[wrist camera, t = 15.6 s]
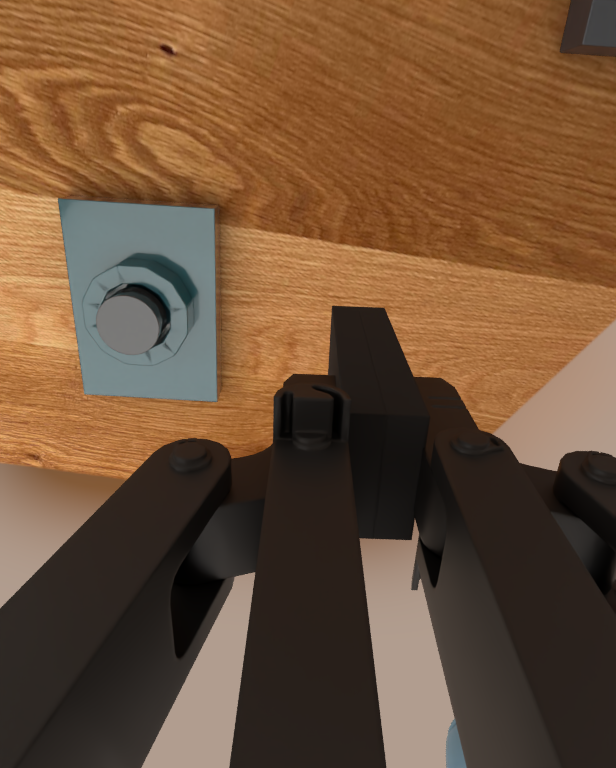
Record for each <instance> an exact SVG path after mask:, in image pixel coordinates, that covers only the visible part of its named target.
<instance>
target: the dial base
mask: <svg viewBox="0 0 616 768" xmlns="http://www.w3.org/2000/svg"><path fill="white" fill-rule="evenodd" d="M560 52H561V53H571V54H585V55H599V56H613V57H616V0H571V4H570V8H569V13H568V17H567V22H566V26H565V30H564V35H563V39H562V44H561V48H560Z"/></svg>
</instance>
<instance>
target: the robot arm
mask: <svg viewBox="0 0 616 768" xmlns="http://www.w3.org/2000/svg"><path fill="white" fill-rule="evenodd" d="M414 520H416V523H417V527H418V531H419V539H418V545H417V552H416V558H415V564H414V570H413V576H412V589H411V590H417V589H418V583H419V580H420V579H421V580H422V584H423V588H424V592H425V597H426V601H427V605H428V609H429V613H430V618H431V621H432V626H433V629H434V634H435V638H436V642H437V647H438V651H439V655H440V659H441V663H442V667H443V671H444V676H445V680H446V684H447V687H448V692H449V696H450V700H451V705H452V709H453V713H454V717H455V719H454V720H453V722H452V723H451V726H450V727H449V731H448V736H447V741H446V767H447V768H616V458H615V457H613V456H612V455H609V454H606V453H602V452H601V453H599V452H596V451H575V452H572V453H567V454H565V455H564V456H563V458H562V459H561V460H560V463H559V467H558V471H552V470H547V469H542V468H538V467H533V466H529V465H525V464H522V463H519V462H518V460H517V459H516V457H515V455H514V454H513V452H512V451H511V449H510V447H509V446H508V445H507V444H506V443H505V442H504V441H502V440H501V439H500V438H498V437H496V436H494V435H492V434H490V433H487V432H484V431H481V430H479V429H478V427H477V425H476V424H475V422H474V420H473V418H472V417H471V415H470V413H469V411H468V410H467V409H466V406H465V404H464V403H463V401H462V400H461V397H460V396H459V394H458V392H457V390H456V389H455V387H453V386H452V385H450V384H449V383H448V382H446V381H445V380H443V379H442V378H430V377H413V375H412V372H411V370H410V367H409V365H408V363H407V360H406V358H405V356H404V353H403V351H402V349H401V346H400V344H399V341H398V339H397V337H396V334H395V332H394V330H393V327H392V325H391V323H390V320H389V318H388V315H387V313H386V311H385V308H373V307H348V306H332V317H331V334H330V352H329V369H328V375H311V374H293V375H292V376H291V377H289V378H288V379H287V380H286V381H285V382H284V384H283V388H281V389H280V390H278V391H277V392H276V394H275V396H274V421H273V444H272V445H271V446H270V447H268V448H267V449H265V450H264V451H262V452H259V453H256V454H254V455H250V456H245V457H240V458H234V459H231V456H230V453H229V451H228V449H227V448H226V447H224V446H223V445H221V444H220V443H218V442H214V441H211V440H208V439H197V438H189V439H182V440H178V441H175V442H172V443H170V444H167V445H164V446H163V447H161V448H160V449H158V450H157V451H155V452H154V453H153V454H152V455H151V456H150V457H149V458H148V459H147V460H146V461H145V462H144V463H143V464H142V465H141V466H140V467H139V468H138V469H137V470H136V471H135V472H134V473H133V474H132V475H131V476H130V477H129V478H128V479H127V480H126V481H125V483H123V484H122V485H121V487H120V488H119V489H118V490H117V491H116V492H115V493H114V494H113V495H112V496H111V497H110V498H109V499H108V500H107V501H106V502H105V503H104V504H103V505H102V506H101V507H100V508H99V509H98V510H97V511H96V512H95V513H94V514H93V515H92V516H91V517H90V518H89V519H88V520H87V521H86V522H85V523H84V524H83V525H82V526H81V527H80V528H79V529H78V530H77V531H76V532H75V533H74V534H73V535H72V536H71V537H70V538H69V539H68V540H67V542H65V543H64V544H63V545H62V546H61V547H60V548H59V549H58V550H57V551H56V552H55V554H54V555H53V556H52V557H51V558H50V559H49V560H48V561H47V562H46V563H45V564H44V565H43V566H42V567H41V568H40V569H39V570H38V571H37V572H36V573H35V574H34V575H33V576H32V577H31V578H30V579H29V580H28V581H27V582H26V583H25V584H24V585H23V586H22V587H21V588H20V589H19V590H18V591H17V592H16V593H15V594H14V595H13V596H12V597H11V598H10V599H9V600H8V601H7V602H6V603H5V604H4V605H3V606H2V607H1V608H0V768H141V767H142V765H143V763H144V761H145V759H146V757H147V755H148V753H149V751H150V749H151V747H152V745H153V743H154V741H155V739H156V737H157V735H158V733H159V731H160V729H161V727H162V725H163V723H164V721H165V719H166V717H167V716H168V713H169V712H170V709H171V708H172V706H173V704H174V702H175V700H176V698H177V696H178V694H179V692H180V690H181V688H182V686H183V684H184V682H185V680H186V678H187V676H188V674H189V672H190V670H191V668H192V666H193V664H194V662H195V660H196V658H197V656H198V654H199V652H200V650H201V648H202V646H203V644H204V642H205V640H206V638H207V636H208V634H209V632H210V630H211V628H212V626H213V624H214V622H215V620H216V618H217V616H218V614H219V612H220V610H221V608H222V606H223V605H224V603H225V601H226V598H227V596H228V595H229V593H230V590H231V589H232V586H233V581H234V577H235V576H239V575H244V574H248V573H253V572H255V580H254V588H253V595H252V603H251V611H250V617H249V625H248V632H247V640H246V648H245V655H244V662H243V670H242V677H241V685H240V692H239V700H238V707H237V715H236V723H235V730H234V738H233V745H232V752H231V760H230V767H229V768H386V760H385V752H384V743H383V735H382V726H381V719H380V710H379V701H378V693H377V685H376V676H375V667H374V659H373V650H372V642H371V633H370V624H369V616H368V607H367V599H366V591H365V582H364V574H363V565H362V557H361V548H360V539H359V538H368V539H396V540H412V533H413V527H414Z"/></svg>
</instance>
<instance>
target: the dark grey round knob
mask: <svg viewBox="0 0 616 768" xmlns="http://www.w3.org/2000/svg"><path fill="white" fill-rule="evenodd" d="M166 325H167V314H166V310H165V308H164V306H163V304H162V302H161V301H160V300H159V299H158V298H157V297H156V296H155V295H154V294H153V293H151V292H150V291H148V290H146V289H143V288H139V287H127V288H123V289H121V290H119V291H117V292H116V293H115V294H113V295H112V296H111V297H110V298H108V299H107V300H106V301H105V302H103V303H102V305H101V306H100V308H99V309H98V312H97V315H96V326H97V330H98V333H99V335H100V337H101V338H102V340H103V341H104V342H105V343H106V344H107V345H108V346H109V347H110V348H112V349H113V350H115V351H117V352H119V353H122V354H126V355H138V354H142V353H145V352H147V351H148V350H150V349H151V348H152V347H153V346H154V345H155V343H156V342H157V341H158V339H159V338H160V337H161V336H162V334H163V333H164V331H165V329H166Z"/></svg>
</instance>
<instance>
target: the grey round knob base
mask: <svg viewBox="0 0 616 768" xmlns="http://www.w3.org/2000/svg"><path fill="white" fill-rule="evenodd" d="M58 203H59V210H60V218H61V225H62V233H63V240H64V247H65V255H66V262H67V269H68V277H69V284H70V292H71V299H72V306H73V314H74V321H75V329H76V336H77V343H78V351H79V358H80V365H81V373H82V380H83V388H84V394H87V395H105V396H122V397H140V398H157V399H175V400H192V401H209V402H217V401H218V398H219V396H220V393H221V304H220V209H219V205H213V204H197V203H182V202H166V201H151V200H136V199H120V198H105V197H89V196H74V195H70V196H66V197H62V198H58ZM127 287H139V288H143V289H146V290H148V291H150V292H151V293H153V294H154V295H155V296H156V297H157V298H158V299H159V300H160V301H161V302H162V304H163V306H164V308H165V310H166V314H167V325H166V329H165V331H164V333H163V334H162V336H161V337H160V338H159V339H158V341H157V342H156V343H155V345H154V346H153V347H152V348H151V349H150V350H148V351H147V352H145V353H142V354H138V355H126V354H122V353H119V352H117V351H115V350H113V349H112V348H110V347H109V346H108V345H107V344H106V343H105V342H104V341H103V340H102V338H101V337H100V335H99V333H98V330H97V326H96V315H97V312H98V309H99V308H100V306H101V305H102V303H103V302H105V301H106V300H107V299H108V298H110V297H111V296H112V295H113V294H115V293H116V292H117V291H119V290H121V289H123V288H127Z"/></svg>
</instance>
